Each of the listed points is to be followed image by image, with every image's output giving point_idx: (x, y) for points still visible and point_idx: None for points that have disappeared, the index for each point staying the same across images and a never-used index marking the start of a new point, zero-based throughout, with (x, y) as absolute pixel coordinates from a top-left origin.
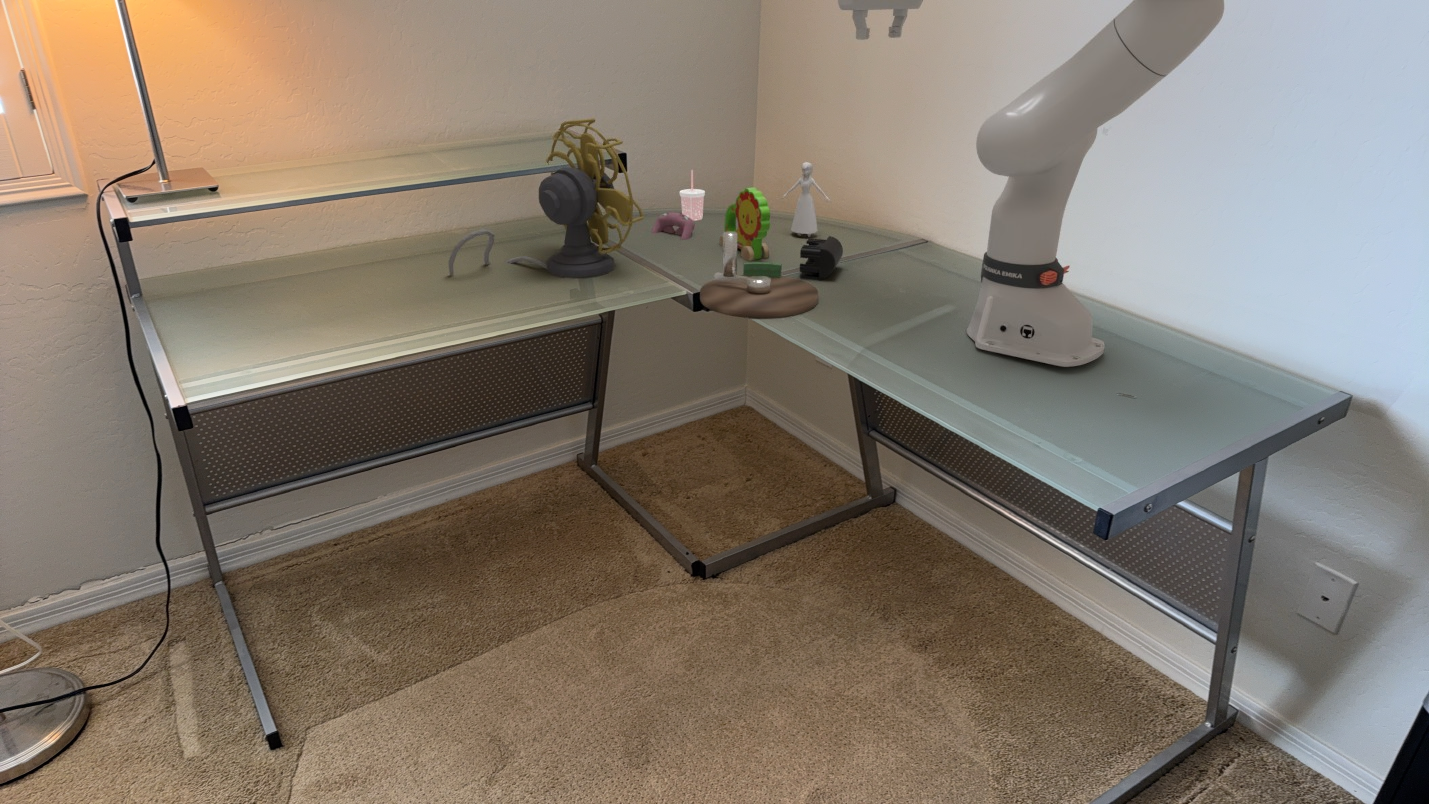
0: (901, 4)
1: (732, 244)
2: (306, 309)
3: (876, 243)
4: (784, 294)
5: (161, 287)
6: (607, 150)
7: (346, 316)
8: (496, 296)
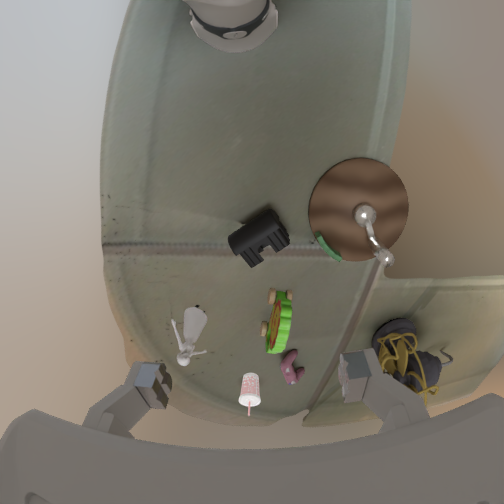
0: (131, 453)
1: (388, 250)
2: (489, 338)
3: (144, 268)
4: (353, 191)
5: (481, 380)
6: None
7: (491, 323)
8: (450, 318)
